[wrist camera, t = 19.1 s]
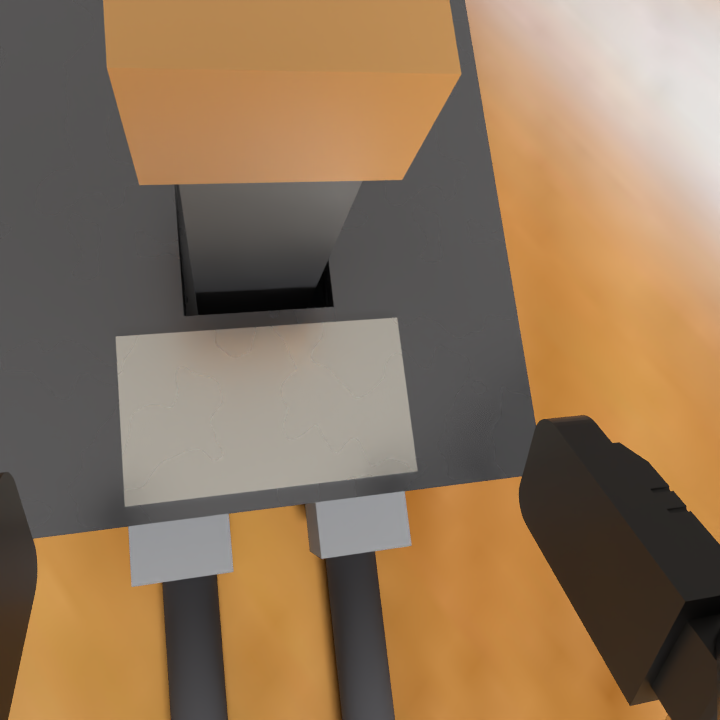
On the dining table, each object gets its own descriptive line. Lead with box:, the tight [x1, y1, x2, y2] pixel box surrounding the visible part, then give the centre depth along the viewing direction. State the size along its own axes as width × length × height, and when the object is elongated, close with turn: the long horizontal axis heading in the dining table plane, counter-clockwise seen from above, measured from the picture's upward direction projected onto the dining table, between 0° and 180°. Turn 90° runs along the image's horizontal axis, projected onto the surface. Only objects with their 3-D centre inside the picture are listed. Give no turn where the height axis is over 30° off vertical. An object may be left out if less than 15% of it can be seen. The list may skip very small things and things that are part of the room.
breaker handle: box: [103, 0, 461, 315], centre depth 15 cm, size 4×4×14 cm
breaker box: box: [0, 0, 536, 539], centre depth 21 cm, size 24×14×6 cm, turn 6°
